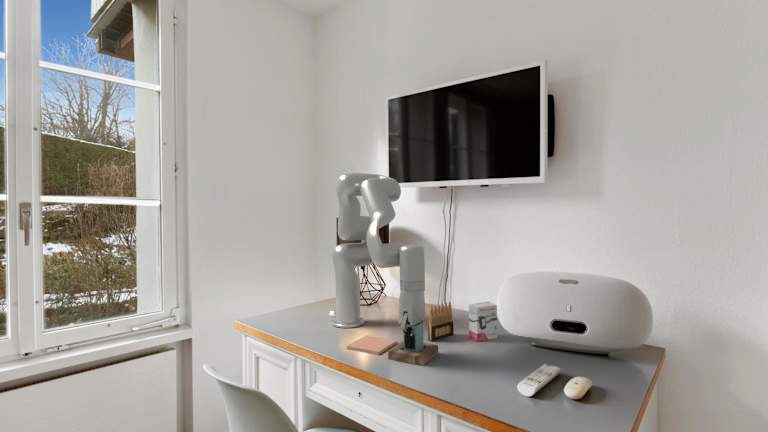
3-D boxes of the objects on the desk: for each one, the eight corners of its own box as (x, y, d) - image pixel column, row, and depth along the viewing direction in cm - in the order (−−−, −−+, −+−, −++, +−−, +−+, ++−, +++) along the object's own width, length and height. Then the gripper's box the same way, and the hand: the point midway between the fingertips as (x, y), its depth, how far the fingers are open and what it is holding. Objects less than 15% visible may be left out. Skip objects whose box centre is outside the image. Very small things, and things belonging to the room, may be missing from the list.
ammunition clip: (431, 341, 134) (431, 306, 134) (428, 340, 136) (427, 305, 135) (453, 335, 141) (453, 301, 140) (450, 334, 142) (449, 300, 142)
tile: (346, 348, 129) (346, 345, 129) (366, 338, 139) (366, 335, 139) (378, 355, 123) (378, 351, 123) (396, 343, 133) (396, 340, 133)
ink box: (477, 342, 133) (477, 307, 133) (468, 338, 137) (468, 303, 137) (498, 338, 136) (497, 304, 136) (488, 334, 141) (488, 301, 141)
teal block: (403, 357, 120) (403, 324, 120) (410, 352, 124) (409, 320, 124) (417, 359, 118) (416, 326, 118) (423, 355, 122) (422, 322, 122)
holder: (387, 359, 119) (387, 350, 119) (405, 347, 129) (405, 339, 129) (423, 366, 113) (423, 357, 113) (438, 353, 123) (438, 345, 123)
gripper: (413, 280, 130) (414, 336, 130) (388, 289, 115) (389, 352, 116) (434, 282, 126) (435, 339, 127) (411, 292, 112) (412, 356, 112)
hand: (413, 345), depth 121 cm, fingers closed on teal block, 4 cm apart
